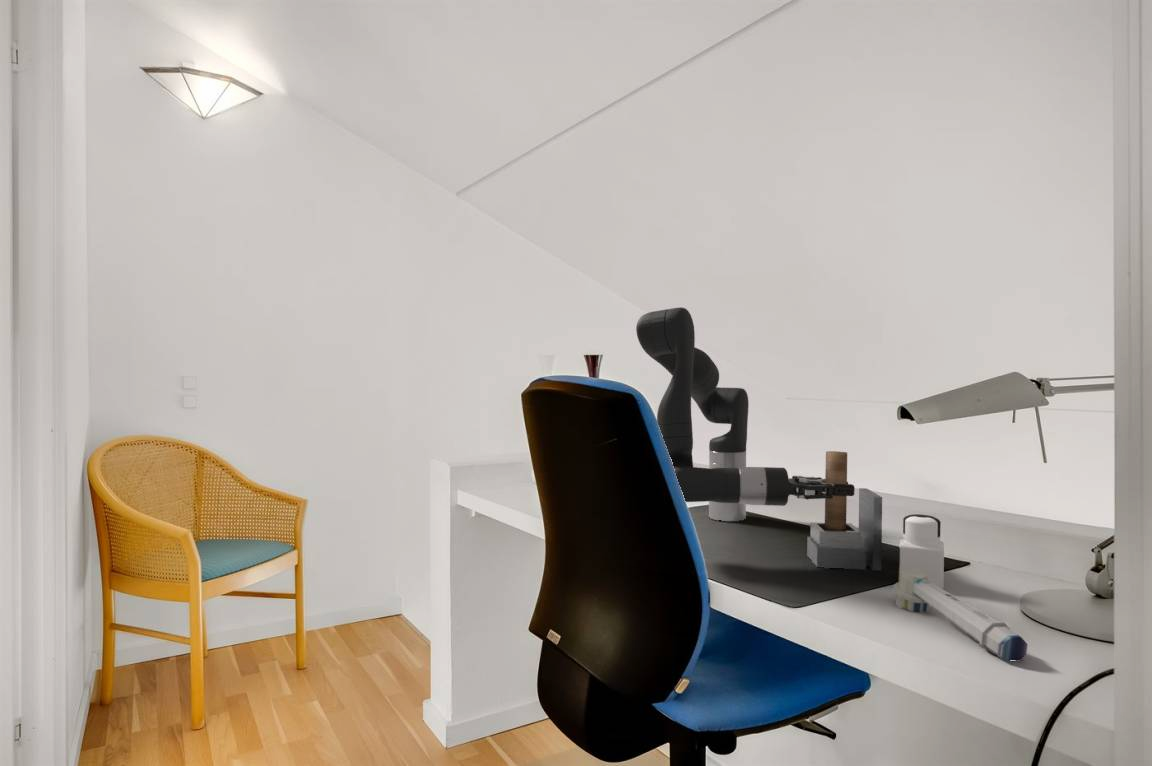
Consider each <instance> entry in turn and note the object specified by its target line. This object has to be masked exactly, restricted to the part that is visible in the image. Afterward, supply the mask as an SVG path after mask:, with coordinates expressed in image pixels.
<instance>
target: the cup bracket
mask: <svg viewBox="0 0 1152 766" xmlns="http://www.w3.org/2000/svg"><path fill="white" fill-rule="evenodd" d="M882 526H883V497H882V496H881V495H879V494H877V493H876V492H874V491H872V490H870V489H868V488H864V487H861V488H858V527H857V526H856V525H854V524H853V523H851V522H850V523H847V522H846V531H829V530H825V522H810V534H809V535H810V536H806V537H807V538H806V539H807V546H806V547H807V548H806V549H807V550H806V551H807V553H806V555H807V558H808V557H809V558H810V559H811V560H812V561H811V560H810V559H809V560H810V561H811V562H812V563H814V564H815V565H816V566H817V567H824V568H823V569H829V568H844V569H843V570H866V567H869V568H870V569H871V570H872V571H875V570H876V572H877V571H879V572H881V571H882V561H883V560H882V557H883V556H882V554H883V553H882V552H883V551H882V549H883V548H882V545H883V541H882V540H883V539H882V537H883V527H882ZM814 564H813V565H814ZM815 565H814V566H815ZM816 566H815V567H816ZM817 567H816V568H817Z"/></svg>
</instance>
